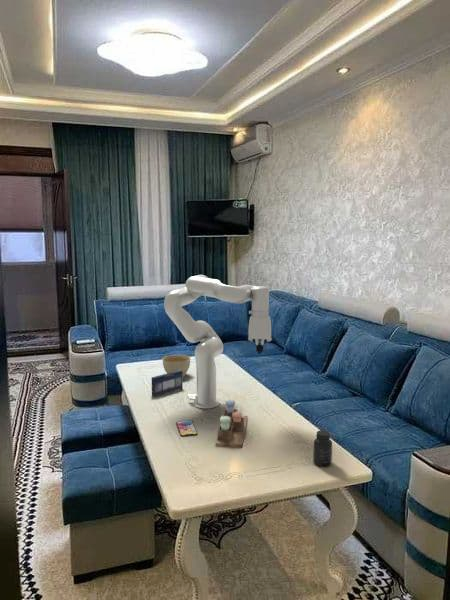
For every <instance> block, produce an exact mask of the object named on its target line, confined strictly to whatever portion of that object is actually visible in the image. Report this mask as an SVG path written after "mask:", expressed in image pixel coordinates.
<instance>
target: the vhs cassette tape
mask: <svg viewBox="0 0 450 600" xmlns="http://www.w3.org/2000/svg"><path fill="white" fill-rule="evenodd" d="M182 375H183V373H182V371H181V370H179V371H175V372H171V373H164V374H160V375H156V376H152V377H151V396H152V397H154V398H155V397H159V396H162V395H166V394H169V393H172V392H176V391H179V390H183V385H184V384H183V379H184V377H183V376H182Z"/></svg>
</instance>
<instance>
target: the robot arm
mask: <svg viewBox="0 0 450 600" xmlns="http://www.w3.org/2000/svg"><path fill="white" fill-rule="evenodd" d="M201 296H203V297H209V298H213V299H214V298H215V299H218V300H220V301H221V302H226V303H232V304H243V303H246V302H249V301H251V310H248V314H249V315H250V317H249V322H248V337H247V340H248V341H251V342H253V343H254V344H255V345H256V346H255V347H256V348H255V350H256V352H257V354H258V355H259V354H260V355H261V354H262V352H263V351H264V345H265V344H266V343H267V342H271V341H272V340H273V339H272V321H271V316H269V314H270V313H269V312H270V311H269V309H270V308H269V307H270V306H269V305H270V301H269V299H270V289H269V287H267V286H264V285H252V284H243V285H239V286H234V285H227V284H224V283H222V282H221V280H220V279H216V278H210V277H208V276H206V275H204V274H198V275H194V276H192V275H191V276H190V277H189V278H187V280H186V281H185V286H183V287H182V288H178V289H173V290H172V291H170V292H168V293H167V294H166V296H165V298H164V302H163V307H164V310H165V313H166V315H167V317H169V319H170V320H171V321H172V322H173V324H174V325H175V326H176V327H177V329H178V330H179V332H180V333H181V334H182V336H183V337H184V338H185V340H186V341H187V342H189V343H191V344H195V343H198V342H200V343H198V344H197V346H195V350H194V357H195V363H196V364H195V365H196V366H195V367H196V394H188V396H187V399H189V401H193V406H195V407H196V408H198V409H203V410H204V409H215V408H218V406H219V405H220V400H219V399H217V365H216V361H215V358H216V357H218V356H220V355H221V354H222V353H223V351H224V343H223V342H222V340H221V338H220V336H218V334H217V333H216V331H215V330H214V329H213V327H212V326H211V325H210V324H209V323H208V322H207V321H205V320H194V318H193V317H192V316H191V314H190V313H189V312H188V311H187V310H185V309H184V308H183V307H184V306H186V305H191V303H193V302H194V301H196V300H197V299H198V298H199V297H201ZM259 340H261V342H259ZM263 353H264V352H263Z"/></svg>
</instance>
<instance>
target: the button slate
mask: <svg viewBox="0 0 450 600" xmlns="http://www.w3.org/2000/svg"><path fill="white" fill-rule="evenodd" d="M235 405H236V401H235V400H233V399H227V400H226V401H225V406H226V408H225V409H226V413H233V412H234V409H235Z"/></svg>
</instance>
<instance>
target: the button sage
mask: <svg viewBox="0 0 450 600" xmlns="http://www.w3.org/2000/svg"><path fill="white" fill-rule="evenodd" d="M230 419H231V418H230V417H229V416H223V415H222V416H220V417H219V421H220V425H221V430H223V431H229V422H230Z"/></svg>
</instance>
